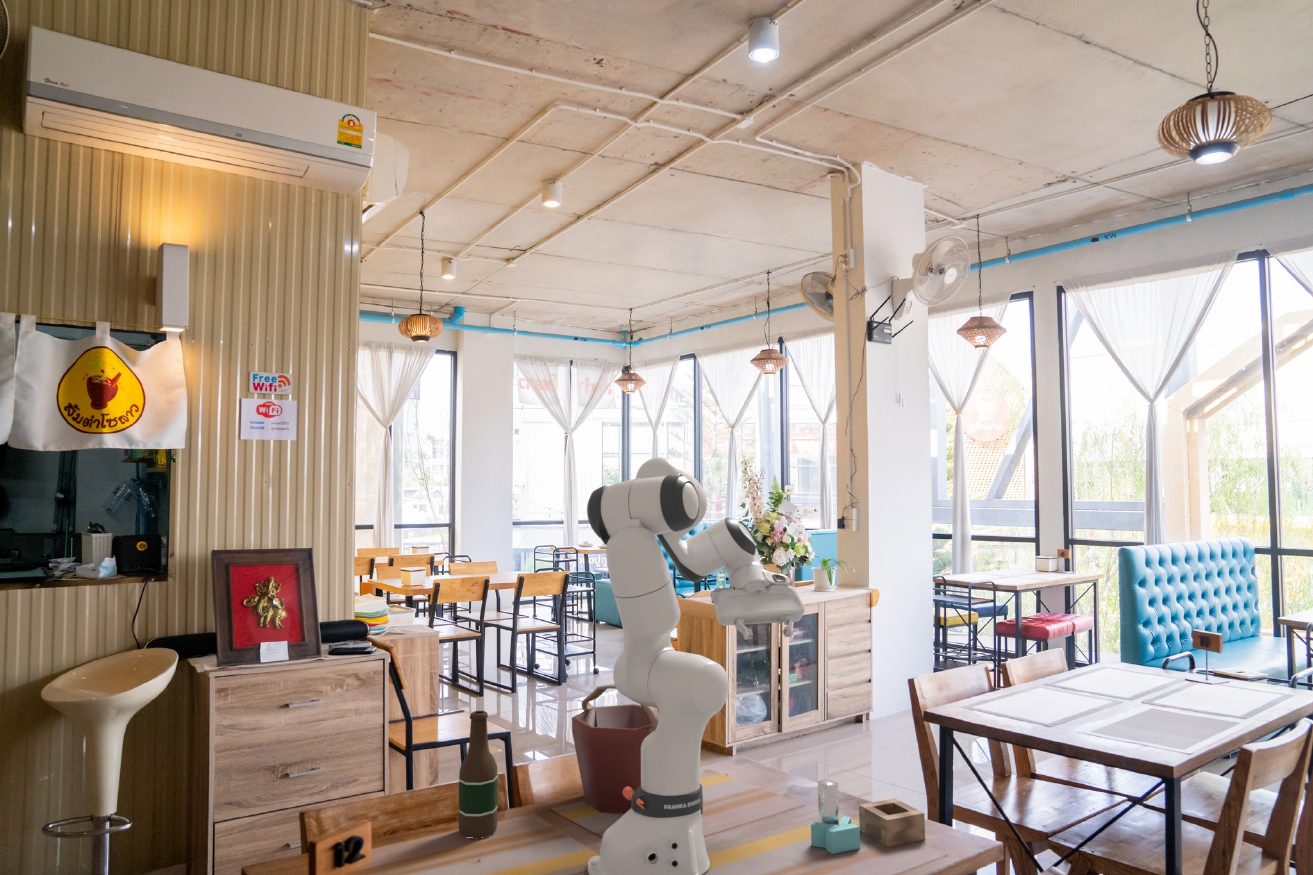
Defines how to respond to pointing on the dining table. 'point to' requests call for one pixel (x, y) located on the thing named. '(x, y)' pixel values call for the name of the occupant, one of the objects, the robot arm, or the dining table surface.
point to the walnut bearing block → (892, 822)
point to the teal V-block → (836, 836)
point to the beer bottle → (478, 783)
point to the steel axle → (828, 802)
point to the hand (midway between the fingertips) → (769, 636)
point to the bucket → (611, 750)
